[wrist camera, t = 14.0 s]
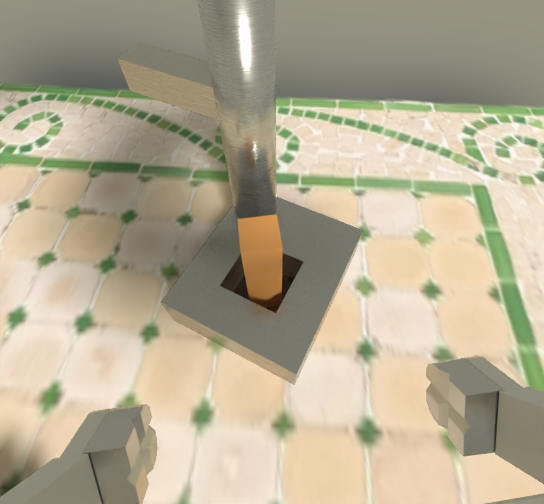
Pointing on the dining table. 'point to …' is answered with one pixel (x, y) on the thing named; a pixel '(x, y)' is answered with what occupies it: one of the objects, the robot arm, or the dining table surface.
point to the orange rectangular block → (262, 259)
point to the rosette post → (246, 191)
